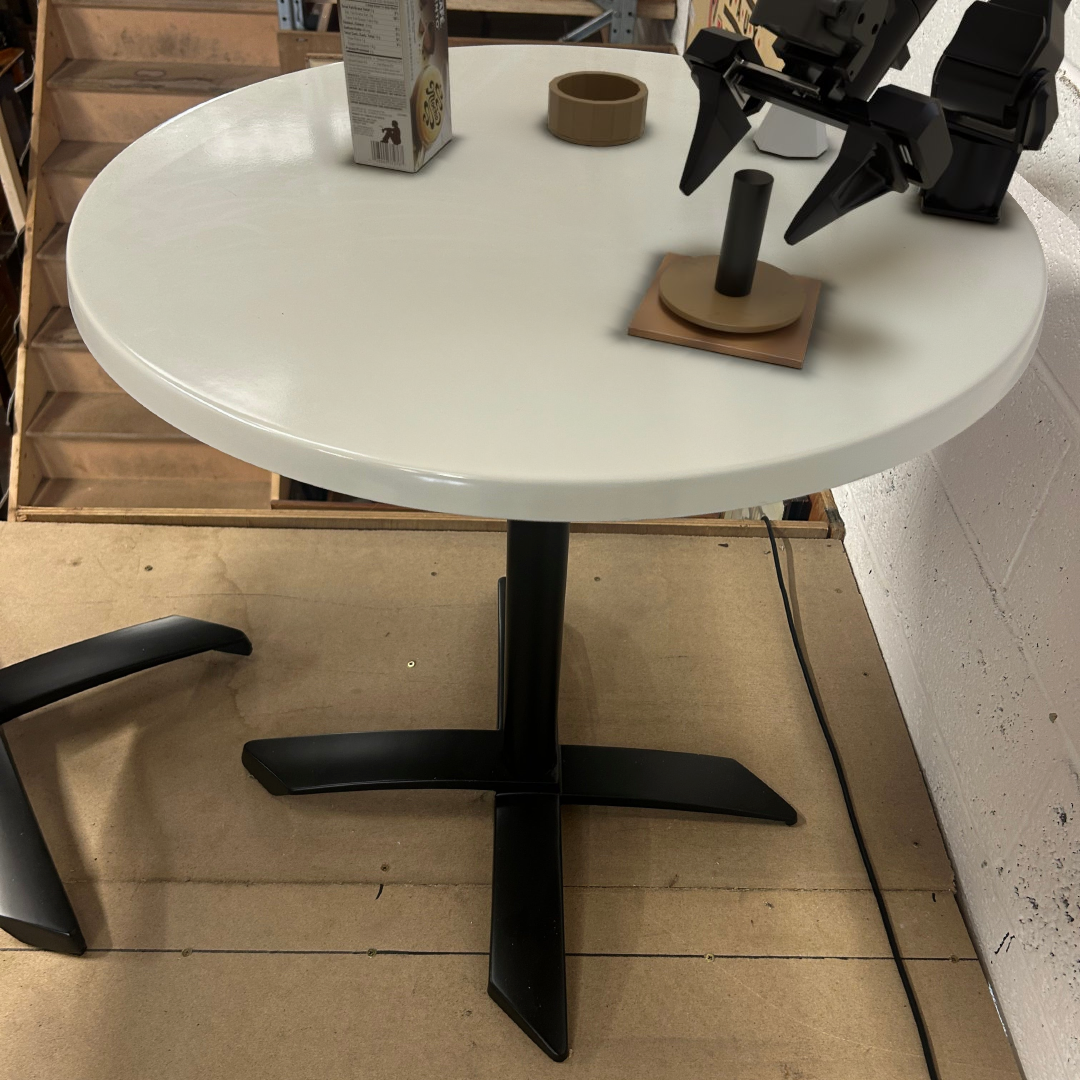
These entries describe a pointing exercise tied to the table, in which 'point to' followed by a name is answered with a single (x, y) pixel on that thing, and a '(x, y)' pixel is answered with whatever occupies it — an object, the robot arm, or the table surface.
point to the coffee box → (396, 80)
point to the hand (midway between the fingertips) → (732, 216)
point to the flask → (791, 134)
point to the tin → (597, 108)
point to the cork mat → (763, 346)
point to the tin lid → (736, 271)
